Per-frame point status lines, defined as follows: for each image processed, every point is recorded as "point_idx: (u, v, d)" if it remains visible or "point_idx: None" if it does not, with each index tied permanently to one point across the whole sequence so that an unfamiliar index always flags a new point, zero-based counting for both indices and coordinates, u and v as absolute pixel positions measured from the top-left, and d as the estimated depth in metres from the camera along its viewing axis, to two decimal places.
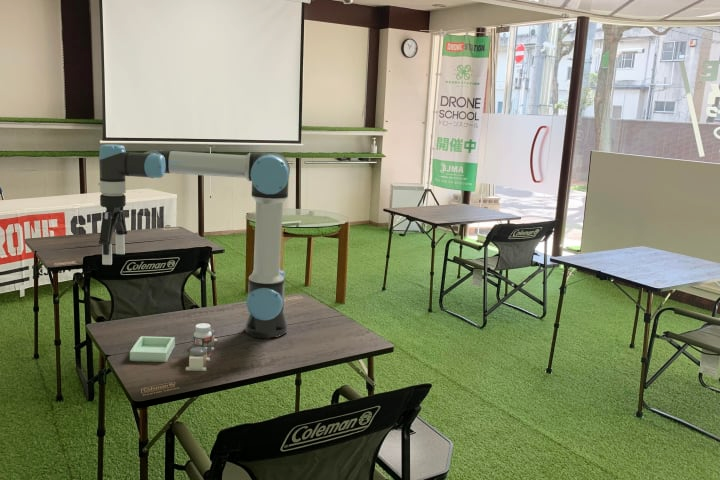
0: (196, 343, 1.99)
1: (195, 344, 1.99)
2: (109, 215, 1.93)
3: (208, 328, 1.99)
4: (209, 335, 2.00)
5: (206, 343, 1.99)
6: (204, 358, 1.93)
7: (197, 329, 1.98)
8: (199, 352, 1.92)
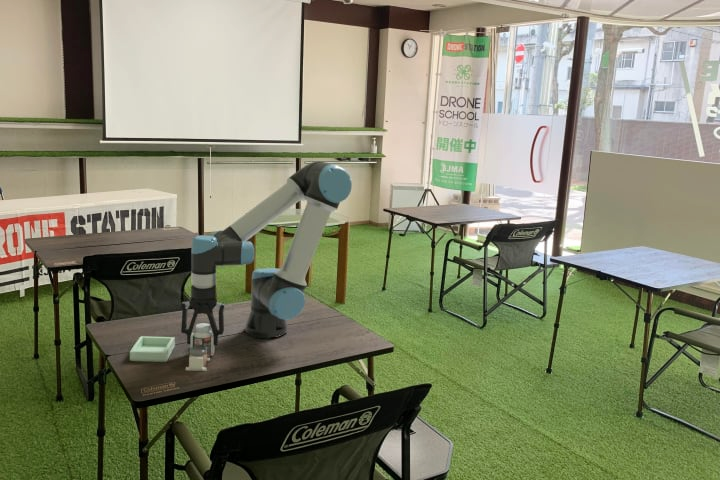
0: (196, 343, 1.99)
1: (195, 344, 1.99)
2: None
3: (208, 328, 1.99)
4: (209, 335, 2.00)
5: (206, 343, 1.99)
6: (204, 358, 1.93)
7: (197, 329, 1.98)
8: (199, 352, 1.92)
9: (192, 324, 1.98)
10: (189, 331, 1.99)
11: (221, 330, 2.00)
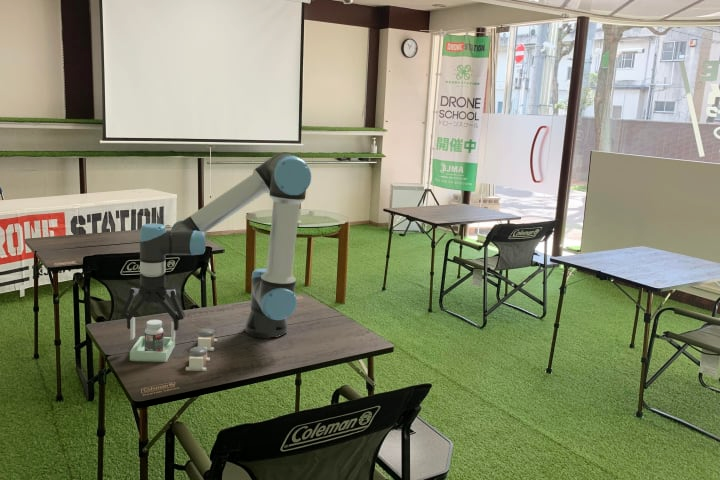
0: (147, 340, 1.97)
1: (146, 340, 1.97)
2: None
3: (159, 324, 1.98)
4: (160, 331, 1.98)
5: (157, 340, 1.97)
6: (204, 358, 1.93)
7: (148, 325, 1.97)
8: (199, 352, 1.92)
9: (135, 310, 1.96)
10: (129, 316, 1.96)
11: (180, 315, 1.97)
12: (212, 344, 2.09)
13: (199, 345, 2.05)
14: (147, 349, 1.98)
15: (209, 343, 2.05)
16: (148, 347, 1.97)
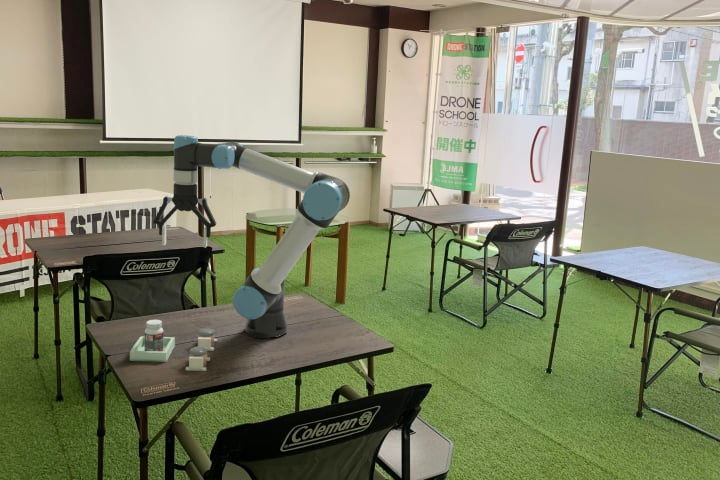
0: (147, 340, 1.97)
1: (146, 340, 1.97)
2: None
3: (159, 324, 1.98)
4: (160, 331, 1.98)
5: (157, 340, 1.97)
6: (204, 358, 1.93)
7: (148, 325, 1.97)
8: (199, 352, 1.92)
9: (167, 217, 2.07)
10: (162, 222, 2.08)
11: (212, 222, 2.09)
12: (212, 344, 2.09)
13: (199, 345, 2.05)
14: (147, 349, 1.98)
15: (209, 343, 2.05)
16: (148, 347, 1.97)
